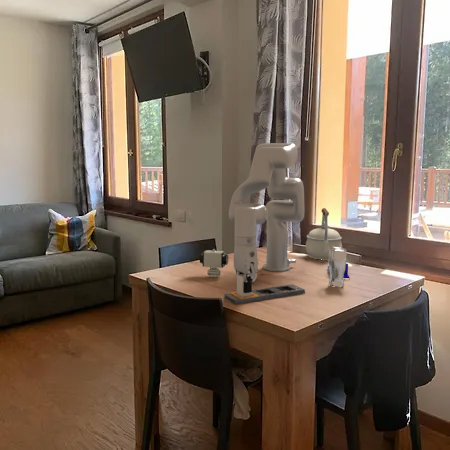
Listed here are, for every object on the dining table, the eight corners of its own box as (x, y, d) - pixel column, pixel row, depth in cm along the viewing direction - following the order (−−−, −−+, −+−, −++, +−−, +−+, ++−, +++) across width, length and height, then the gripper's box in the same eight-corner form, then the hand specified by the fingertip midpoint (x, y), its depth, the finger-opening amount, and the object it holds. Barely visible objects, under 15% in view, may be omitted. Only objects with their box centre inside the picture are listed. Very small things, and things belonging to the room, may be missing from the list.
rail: (292, 287, 177) (292, 283, 177) (304, 293, 170) (304, 288, 170) (224, 298, 164) (224, 293, 163) (234, 304, 157) (235, 299, 156)
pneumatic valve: (225, 278, 190) (226, 251, 188) (199, 277, 192) (199, 249, 191) (228, 275, 195) (229, 248, 193) (202, 273, 198) (202, 247, 196)
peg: (246, 294, 165) (246, 273, 164) (251, 297, 162) (252, 276, 161) (236, 296, 164) (236, 274, 162) (242, 299, 160) (242, 277, 159)
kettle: (304, 252, 244) (306, 206, 241) (339, 253, 242) (341, 207, 238) (306, 263, 220) (308, 212, 216) (344, 264, 217) (347, 213, 214)
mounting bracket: (327, 269, 208) (327, 257, 207) (343, 270, 208) (343, 257, 207) (331, 280, 191) (332, 266, 190) (349, 280, 190) (349, 267, 189)
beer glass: (335, 288, 176) (337, 251, 174) (323, 284, 183) (325, 248, 180) (348, 286, 180) (350, 249, 177) (337, 282, 186) (338, 246, 184)
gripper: (266, 244, 154) (265, 295, 157) (242, 236, 169) (242, 283, 171) (247, 245, 151) (247, 298, 153) (224, 237, 165) (224, 286, 168)
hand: (244, 290), depth 162 cm, fingers closed on peg, 3 cm apart
